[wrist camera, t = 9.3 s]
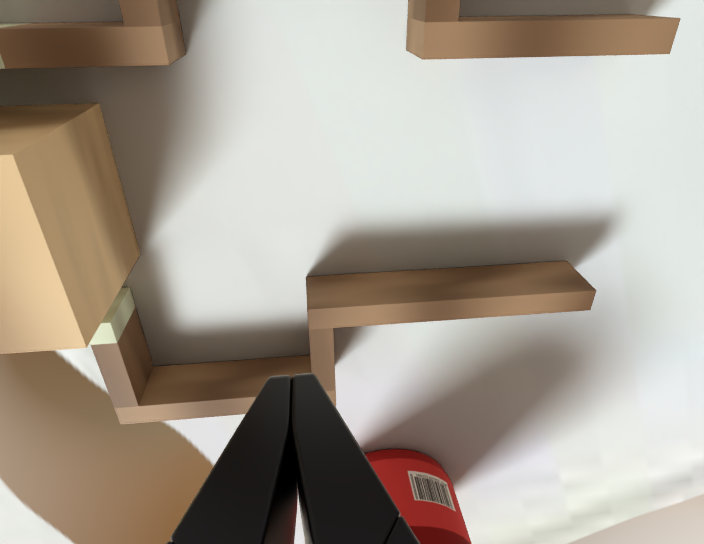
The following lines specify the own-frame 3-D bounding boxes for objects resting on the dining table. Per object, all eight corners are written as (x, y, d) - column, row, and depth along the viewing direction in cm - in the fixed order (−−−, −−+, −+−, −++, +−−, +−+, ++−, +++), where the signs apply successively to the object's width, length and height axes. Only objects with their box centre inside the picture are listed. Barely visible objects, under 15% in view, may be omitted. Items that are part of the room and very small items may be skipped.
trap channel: (675, -155, 14) (741, -180, 12) (542, 352, 25) (566, 387, 23) (-361, -173, 12) (-502, -207, 10) (-28, 396, 22) (-62, 439, 20)
